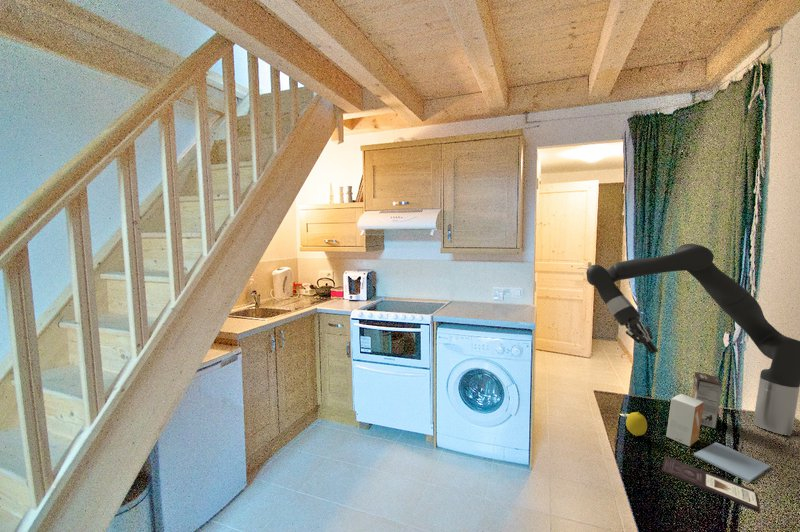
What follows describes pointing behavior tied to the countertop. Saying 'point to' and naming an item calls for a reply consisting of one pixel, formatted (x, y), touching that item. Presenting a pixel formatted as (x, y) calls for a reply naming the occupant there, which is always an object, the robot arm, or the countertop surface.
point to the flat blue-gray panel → (732, 461)
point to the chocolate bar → (710, 482)
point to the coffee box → (707, 397)
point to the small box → (684, 419)
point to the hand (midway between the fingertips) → (654, 352)
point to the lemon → (636, 423)
